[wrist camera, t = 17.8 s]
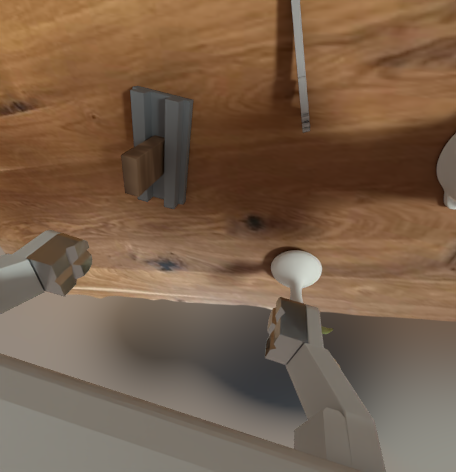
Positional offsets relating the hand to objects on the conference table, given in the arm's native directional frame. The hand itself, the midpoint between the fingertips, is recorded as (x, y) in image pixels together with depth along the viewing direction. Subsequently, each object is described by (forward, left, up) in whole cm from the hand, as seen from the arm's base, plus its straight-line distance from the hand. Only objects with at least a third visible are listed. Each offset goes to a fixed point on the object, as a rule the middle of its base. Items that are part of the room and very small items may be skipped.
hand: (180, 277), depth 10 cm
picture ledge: (+17, +11, -37) cm, 42 cm away
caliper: (-3, -8, -38) cm, 39 cm away
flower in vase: (-17, +30, -37) cm, 51 cm away
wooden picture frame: (+17, +11, -36) cm, 41 cm away
